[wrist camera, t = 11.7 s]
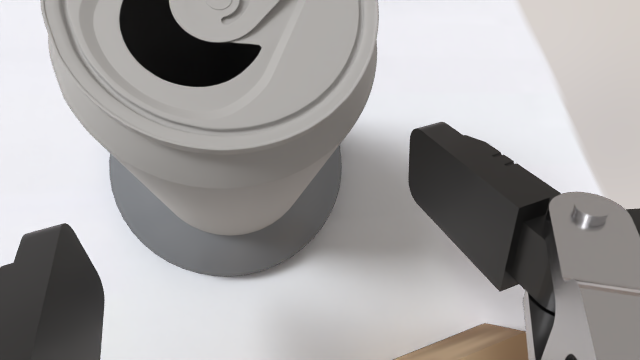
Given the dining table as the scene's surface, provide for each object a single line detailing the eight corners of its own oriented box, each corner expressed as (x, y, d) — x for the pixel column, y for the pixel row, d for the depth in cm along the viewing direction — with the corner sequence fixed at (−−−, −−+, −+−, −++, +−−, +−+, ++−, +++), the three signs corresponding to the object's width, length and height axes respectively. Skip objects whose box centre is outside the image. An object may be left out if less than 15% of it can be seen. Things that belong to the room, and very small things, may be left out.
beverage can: (123, 173, 18) (-95, -10, 6) (224, 69, 20) (200, -224, 8) (242, 268, 18) (246, 260, 6) (332, 155, 20) (463, -12, 8)
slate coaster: (144, 307, 18) (140, 309, 17) (92, 88, 19) (86, 80, 18) (364, 237, 20) (370, 236, 19) (302, 47, 21) (305, 38, 21)
